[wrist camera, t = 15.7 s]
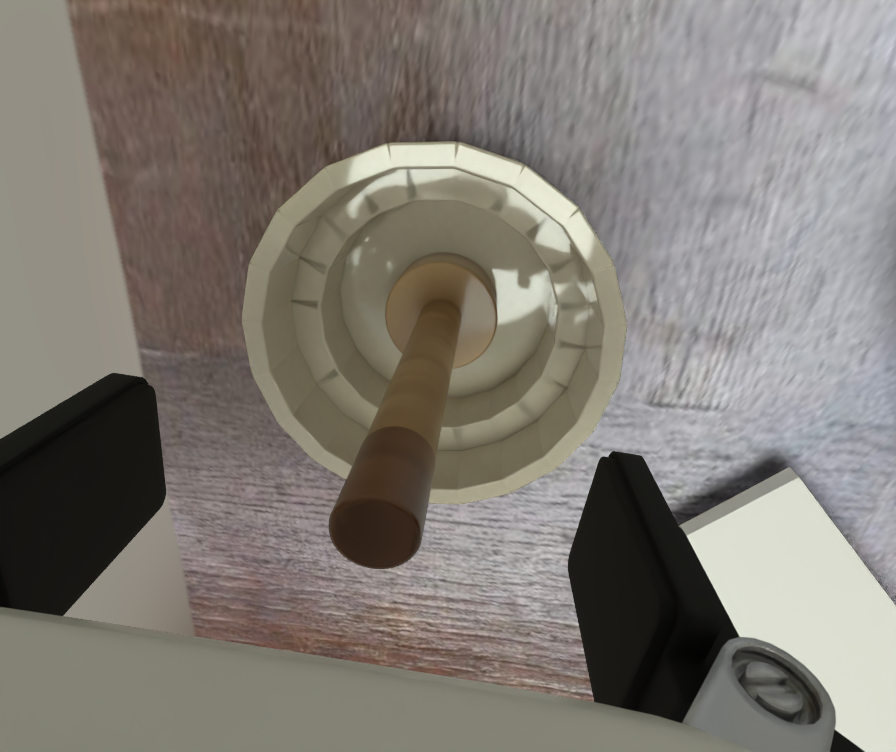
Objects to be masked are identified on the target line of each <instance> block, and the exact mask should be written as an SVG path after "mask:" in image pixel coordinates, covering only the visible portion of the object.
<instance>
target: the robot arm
mask: <svg viewBox="0 0 896 752" xmlns="http://www.w3.org/2000/svg"><path fill="white" fill-rule="evenodd" d="M165 496H166V485H165V476H164V467H163V458H162V449H161V440H160V430H159V421H158V412H157V403H156V394H155V390H154V388H153V387H152V386H150V385H148V383H147V381H146V379H144V378H143V377H137V376H130V375H124V374H118V373H112V374H109V375H107V376H106V377H104V378H102V379H101V380H99V381H97V382H95V383H94V384H92V385H90V386H89V387H87V388H85V389H84V390H82V391H80V392H79V393H77V394H75V395H74V396H72V397H70V398H69V399H67V400H65V401H63V402H62V403H60V404H58V405H57V406H55V407H53V408H52V409H50V410H49V411H47V412H45V413H44V414H42V415H40V416H38V417H37V418H35V419H33V420H32V421H30V422H28V423H27V424H25V425H23V426H22V427H20V428H18V429H16V430H15V431H13V432H12V433H10V434H8V435H6V436H5V437H3V438H2V439H0V752H865V751H863V750H862V749H861V748H859V747H858V746H857V745H855V744H854V743H853V742H851V741H850V740H849V739H847V738H846V737H844V736H843V735H842V734H840V733H839V732H838V731H836V730H835V725H836V712H835V708H834V705H833V703H832V700H831V698H830V696H829V694H828V692H827V691H826V690H825V688H824V687H823V685H822V684H821V682H820V681H819V680H818V678H817V677H816V676H815V675H814V674H813V673H812V672H811V671H810V670H809V669H808V668H807V667H806V666H805V665H804V664H802V663H801V662H800V661H798V660H797V659H796V658H794V657H793V656H791V655H790V654H789V653H787V652H786V651H784V650H782V649H780V648H778V647H776V646H774V645H773V644H771V643H768V642H765V641H762V640H759V639H756V638H748V637H740V636H739V634H738V633H737V631H736V629H735V627H734V625H733V623H732V621H731V619H730V617H729V616H728V614H727V612H726V610H725V608H724V606H723V604H722V602H721V600H720V598H719V597H718V595H717V593H716V591H715V589H714V587H713V585H712V583H711V581H710V580H709V578H708V576H707V574H706V572H705V570H704V568H703V566H702V564H701V562H700V561H699V559H698V557H697V555H696V553H695V551H694V549H693V547H692V545H691V543H690V542H689V540H688V538H687V536H686V534H685V532H684V531H683V530H682V528H681V527H679V526H678V524H677V522H676V520H675V518H674V516H673V514H672V512H671V510H670V508H669V507H668V505H667V503H666V501H665V499H664V497H663V495H662V493H661V491H660V489H659V487H658V485H657V484H656V482H655V480H654V478H653V476H652V474H651V472H650V470H649V468H648V466H647V464H646V462H645V460H644V459H643V457H642V456H640V455H634V454H628V453H622V452H615V451H613V452H611V454H610V455H609V457H601V459H600V460H599V463H598V466H597V469H596V472H595V475H594V478H593V481H592V485H591V488H590V491H589V494H588V497H587V500H586V504H585V507H584V510H583V513H582V516H581V519H580V522H579V526H578V529H577V532H576V535H575V538H574V541H573V545H572V548H571V551H570V554H569V559H568V573H569V578H570V583H571V588H572V593H573V598H574V603H575V608H576V613H577V618H578V623H579V628H580V633H581V638H582V643H583V648H584V653H585V657H586V662H587V667H588V672H589V677H590V682H591V687H592V692H593V697H594V702H590V701H585V700H579V699H574V698H568V697H563V696H557V695H551V694H546V693H540V692H535V691H529V690H524V689H518V688H513V687H507V686H501V685H495V684H489V683H483V682H477V681H471V680H465V679H459V678H452V677H446V676H440V675H434V674H428V673H422V672H416V671H409V670H403V669H397V668H391V667H385V666H379V665H373V664H367V663H360V662H354V661H348V660H342V659H335V658H329V657H323V656H316V655H310V654H304V653H298V652H291V651H285V650H279V649H272V648H266V647H260V646H253V645H247V644H240V643H234V642H228V641H221V640H215V639H208V638H202V637H196V636H189V635H183V634H176V633H170V632H163V631H157V630H150V629H144V628H136V627H130V626H124V625H117V624H111V623H104V622H97V621H91V620H83V619H77V618H71V617H64V616H63V615H64V614H65V613H66V612H67V611H68V610H69V609H70V607H71V606H72V605H73V604H74V603H75V602H76V601H77V600H78V599H79V597H80V596H81V595H82V594H83V593H84V592H85V591H86V590H87V589H88V588H89V586H90V585H91V584H92V583H93V582H94V581H95V580H96V579H97V578H98V576H99V575H100V574H101V573H102V572H103V571H104V570H105V569H106V568H107V567H108V565H109V564H110V563H111V562H112V561H113V560H114V559H115V558H116V557H117V556H118V554H119V553H120V552H121V551H122V550H123V549H124V548H125V547H126V546H127V545H128V543H129V542H130V541H131V540H132V539H133V538H134V537H135V536H136V535H137V533H138V532H139V531H140V530H141V529H142V528H143V527H144V526H145V525H146V524H147V522H148V521H149V520H150V519H151V518H152V517H153V516H154V515H155V513H156V512H157V511H158V510H159V509H160V508H161V506H162V505H163V503H164V500H165Z"/></svg>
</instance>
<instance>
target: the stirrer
mask: <svg viewBox="0 0 896 752" xmlns="http://www.w3.org/2000/svg"><path fill="white" fill-rule="evenodd" d="M385 321H386V326H387V330H388V333H389V335H390V338H391V339H392V341H393V343H394V344H395V346H396V347H397V349H398V350H399V351H400V352H401V353H402V356H401V359H400V361H399V363H398V366H397V368H396V370H395V372H394V375H393V377H392V379H391V381H390V384H389V386H388V388H387V391H386V393H385V395H384V397H383V400H382V402H381V404H380V407H379V409H378V411H377V413H376V416H375V418H374V420H373V422H372V425H371V427H370V429H369V432H368V434H367V436H366V438H365V440H364V441H363V443H362V445H361V447H360V450H359V452H358V454H357V456H356V459H355V461H354V463H353V465H352V468H351V470H350V472H349V474H348V477H347V479H346V481H345V484H344V486H343V488H342V490H341V493H340V495H339V497H338V499H337V502H336V504H335V506H334V508H333V511H332V513H331V515H330V518H329V533H330V537H331V540H332V542H333V544H334V546H335V547H336V549H337V550H338V551H339V552H340V553H341V554H342V555H343V556H344V557H346V558H347V559H348V560H350V561H352V562H354V563H356V564H358V565H361V566H364V567H368V568H373V569H388V568H393V567H397V566H399V565H402V564H404V563H405V562H407V561H408V560H409V559H411V558H412V557H413V555H414V554H415V553H416V552H417V550H418V549H419V547H420V544H421V540H422V535H423V530H424V524H425V519H426V513H427V508H428V503H429V497H430V492H431V486H432V481H433V475H434V470H435V459H436V454H437V448H438V443H439V438H440V432H441V427H442V422H443V416H444V411H445V406H446V400H447V395H448V389H449V384H450V379H451V373H452V369H456V368H460V367H463V366H465V365H468V364H469V363H471V362H473V361H475V360H476V359H477V358H479V357H480V356H481V355H482V354H483V353H484V352H485V351H486V349H487V348H488V347H489V345H490V343H491V342H492V340H493V337H494V335H495V332H496V328H497V321H498V316H497V296H496V291H495V288H494V285H493V283H492V281H491V279H490V278H489V276H488V274H487V273H486V272H485V271H484V269H482V268H481V267H480V266H479V265H478V264H477V263H475V262H474V261H473V260H471V259H469V258H467V257H465V256H462V255H459V254H455V253H448V252H439V253H433V254H429V255H426V256H423V257H421V258H419V259H417V260H416V261H414V262H413V263H412V264H410V265H409V266H408V267H407V268H406V269H405V271H404V272H403V273H402V274H401V276H400V277H399V279H398V280H397V281H396V283H395V284H394V286H393V287H392V289H391V291H390V293H389V295H388V298H387V302H386V307H385Z"/></svg>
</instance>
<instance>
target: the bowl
mask: <svg viewBox="0 0 896 752" xmlns="http://www.w3.org/2000/svg"><path fill="white" fill-rule="evenodd" d="M439 252H448V253H455V254H459V255H462V256H465V257H467V258H469V259H471V260H473V261H474V262H475V263H477V264H478V265H479V266H480V267H481V268H482V269H484V271H485V272H486V273H487V274H488V276H489V278H490V279H491V281H492V283H493V285H494V288H495V291H496V296H497V316H498V321H497V328H496V332H495V335H494V337H493V340H492V342H491V343H490V345H489V347H488V348H487V349H486V351H485V352H484V353H483V354H482V355H481V356H480V357H479V358H477V359H476V360H475V361H473V362H471V363H469V364H468V365H465V366H463V367H460V368H456V369H452V373H451V379H450V384H449V389H448V395H447V400H446V406H445V411H444V416H443V422H442V427H441V432H440V438H439V443H438V448H437V454H436V459H435V470H434V475H433V481H432V486H431V492H430V497H429V503H433V504H458V505H459V504H465V503H470V502H474V501H479V500H483V499H488V498H492V497H497V496H501V495H506V494H509V493H510V492H514V491H516V490H517V489H519V488H521V487H523V486H525V485H527V484H529V483H530V482H532V481H534V480H536V479H538V478H540V477H542V476H543V475H545V474H547V473H549V472H551V471H553V470H555V468H558V467H559V466H560V465H561V464H562V463H563V462H564V461H565V460H566V459H567V458H568V457H569V456H570V455H571V454H572V453H573V452H574V451H575V450H576V449H577V448H578V447H579V446H580V445H581V444H582V443H583V442H584V441H585V440H586V439H587V438H588V437H589V436H590V435H591V434H592V433H593V431H594V430H595V428H596V426H597V424H598V422H599V420H600V418H601V417H602V415H603V413H604V411H605V409H606V407H607V405H608V403H609V401H610V399H611V397H612V395H613V393H614V391H615V389H616V387H617V385H618V382H619V381H620V375H621V367H622V360H623V353H624V345H625V338H626V331H627V324H626V322H627V321H626V316H625V311H624V306H623V302H622V297H621V292H620V288H619V283H618V278H617V273H616V269H615V265H614V264H613V260H612V259H611V257H610V256H609V254H608V252H607V251H606V249H605V247H604V246H603V244H602V243H601V241H600V239H599V238H598V236H597V235H596V233H595V231H594V230H593V228H592V227H591V225H590V223H589V222H588V220H587V219H586V217H585V215H584V214H583V212H582V210H581V209H579V207H578V206H577V205H576V204H575V203H574V202H572V201H571V200H570V199H568V198H567V197H566V196H565V195H563V194H562V193H561V192H560V191H558V190H557V189H556V188H555V187H553V186H552V185H551V184H550V183H548V182H547V181H546V180H545V179H543V178H542V177H541V176H539V175H538V174H537V173H536V172H534V171H533V170H532V169H531V168H529V167H528V166H527V165H525V164H523V163H522V162H520V161H518V160H516V159H514V158H511V157H508V156H505V155H502V154H499V153H496V152H493V151H490V150H487V149H484V148H481V147H478V146H475V145H472V144H470V143H465V142H456V141H444V142H391V143H385V144H382V145H380V146H377V147H375V148H372V149H369V150H367V151H364V152H362V153H359V154H357V155H354V156H351V157H349V158H346V159H344V160H341V161H339V162H336V163H333V164H331V165H328V166H326V167H325V168H324V169H322V170H321V171H320V172H318V173H317V174H316V175H315V176H314V177H313V178H312V179H311V180H310V181H308V182H307V183H306V184H305V185H304V186H303V187H302V188H301V189H300V190H298V191H297V192H296V193H295V194H294V195H293V196H292V197H291V198H289V199H288V200H287V201H286V202H285V203H284V204H283V205H282V206H281V207H279V209H278V210H277V211H276V212H275V214H274V216H273V218H272V220H271V222H270V224H269V226H268V228H267V230H266V232H265V233H264V235H263V237H262V239H261V241H260V243H259V245H258V247H257V249H256V251H255V253H254V255H253V257H252V258H251V260H250V264H249V267H248V274H247V282H246V289H245V297H244V304H243V311H242V326H243V332H244V337H245V342H246V347H247V352H248V358H249V363H250V368H251V373H252V374H253V378H254V379H255V381H256V383H257V385H258V387H259V389H260V391H261V393H262V394H263V396H264V398H265V400H266V402H267V404H268V406H269V408H270V409H271V411H272V413H273V415H274V417H275V419H276V421H278V424H279V425H280V426H281V427H282V428H283V429H284V430H285V431H286V432H287V433H288V434H289V435H290V436H291V437H292V438H293V439H294V440H295V441H296V442H297V443H298V445H299V446H300V447H301V448H302V449H303V450H304V451H305V452H306V453H307V454H308V455H309V456H310V457H311V458H312V459H313V460H315V461H316V462H317V463H319V464H321V465H322V466H324V467H326V468H327V469H329V470H331V471H332V472H334V473H335V474H337V475H339V476H340V477H342V478H344V479H345V480H346V479H347V477H348V474H349V472H350V470H351V468H352V465H353V463H354V461H355V459H356V456H357V454H358V452H359V450H360V447H361V445H362V443H363V441H364V440H365V438H366V436H367V434H368V432H369V429H370V427H371V425H372V422H373V420H374V418H375V416H376V413H377V411H378V409H379V407H380V404H381V402H382V400H383V397H384V395H385V393H386V391H387V388H388V386H389V384H390V381H391V379H392V377H393V375H394V372H395V370H396V368H397V366H398V363H399V361H400V359H401V356H402V353H401V352H400V351H399V350H398V349H397V347H396V346H395V344H394V343H393V341H392V339H391V338H390V335H389V333H388V330H387V326H386V321H385V307H386V302H387V298H388V295H389V293H390V291H391V289H392V287H393V286H394V284H395V283H396V281H397V280H398V279H399V277H400V276H401V274H402V273H403V272H404V271H405V269H406V268H407V267H408V266H409V265H410V264H412V263H413V262H414V261H416V260H417V259H419V258H421V257H423V256H426V255H429V254H433V253H439Z"/></svg>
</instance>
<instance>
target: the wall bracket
mask: <svg viewBox="0 0 896 752" xmlns="http://www.w3.org/2000/svg"><path fill="white" fill-rule="evenodd" d="M679 527H681V528H682V530H683V531H684V532H685V534H686V536H687V538H688V540H689V542H690V543H691V545H692V547H693V549H694V551H695V553H696V555H697V557H698V559H699V561H700V562H701V564H702V566H703V568H704V570H705V572H706V574H707V576H708V578H709V580H710V581H711V583H712V585H713V587H714V589H715V591H716V593H717V595H718V597H719V598H720V600H721V602H722V604H723V606H724V608H725V610H726V612H727V614H728V616H729V617H730V619H731V621H732V623H733V625H734V627H735V629H736V631H737V633H738V634H739V636H740V637H748V638H756V639H759V640H762V641H765V642H768V643H771V644H773V645H774V646H776V647H778V648H780V649H782V650H784V651H786V652H787V653H789V654H790V655H791V656H793V657H794V658H796V659H797V660H798V661H800V662H801V663H802V664H804V665H805V666H806V667H807V668H808V669H809V670H810V671H811V672H812V673H813V674H814V675H815V676H816V677H817V678H818V680H819V681H820V682H821V684H822V685H823V687H824V688H825V690H826V691H827V692H828V694H829V696H830V698H831V700H832V703H833V705H834V708H835V712H836V725H835V730H836V731H838V732H839V733H840V734H842V735H843V736H844V737H846V738H847V739H849V740H850V741H851V742H853V743H854V744H855V745H857V746H858V747H859V748H861V749H862V750H863V751H865V752H896V606H895V604H894V603H893V602H892V600H891V599H890V598H889V596H888V595H887V594H886V592H885V591H884V590H883V588H882V587H881V586H880V584H879V583H878V582H877V580H876V579H875V578H874V576H873V575H872V574H871V572H870V571H869V570H868V568H867V567H866V566H865V564H864V563H863V562H862V560H861V559H860V558H859V556H858V555H857V554H856V552H855V551H854V550H853V548H852V547H851V546H850V544H849V543H848V542H847V540H846V539H845V538H844V536H843V535H842V534H841V532H840V531H839V530H838V528H837V527H836V526H835V524H834V523H833V522H832V520H831V519H830V518H829V516H828V515H827V514H826V512H825V511H824V510H823V508H822V507H821V506H820V504H819V503H818V502H817V500H816V499H815V498H814V496H813V495H812V494H811V492H810V491H809V490H808V488H807V487H806V486H805V484H804V483H803V482H802V480H801V479H800V478H799V477H798V476H797V475H796V473H795V472H794V471H793V470H792V469H791V468H790V467H788V468H786V469H785V470H783V471H781V472H779V473H777V474H775V475H773V476H771V477H770V478H768V479H766V480H764V481H762V482H760V483H758V484H756V485H754V486H753V487H751V488H749V489H747V490H745V491H743V492H741V493H739V494H738V495H736V496H734V497H732V498H730V499H728V500H726V501H724V502H723V503H721V504H719V505H717V506H715V507H713V508H711V509H709V510H708V511H706V512H704V513H702V514H700V515H698V516H696V517H694V518H693V519H691V520H689V521H687V522H685V523H683V524H681V525H679Z"/></svg>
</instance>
